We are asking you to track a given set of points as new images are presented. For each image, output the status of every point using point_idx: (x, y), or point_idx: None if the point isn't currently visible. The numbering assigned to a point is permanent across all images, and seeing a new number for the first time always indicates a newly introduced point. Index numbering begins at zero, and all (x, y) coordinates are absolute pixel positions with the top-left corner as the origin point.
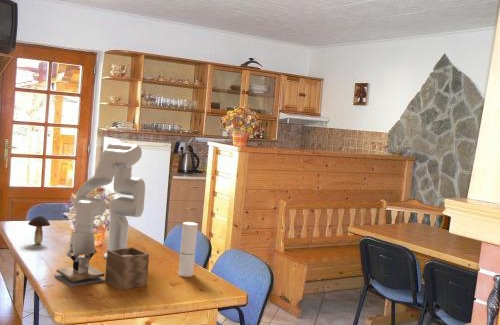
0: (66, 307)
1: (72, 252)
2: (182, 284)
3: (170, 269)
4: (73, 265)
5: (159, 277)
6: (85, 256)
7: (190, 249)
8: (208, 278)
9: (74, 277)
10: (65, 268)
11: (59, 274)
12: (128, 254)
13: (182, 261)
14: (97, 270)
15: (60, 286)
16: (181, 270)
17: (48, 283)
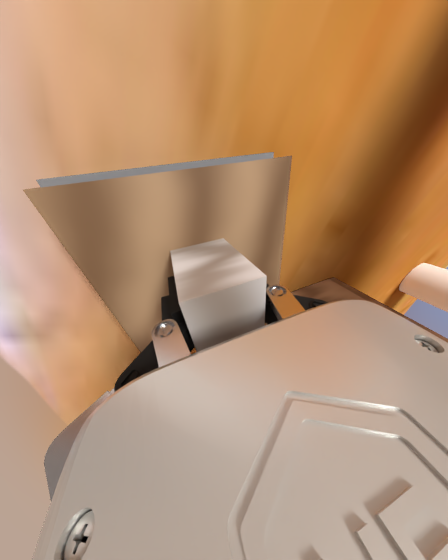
0: None
1: (150, 377)
2: None
3: (435, 235)
4: (163, 309)
5: (370, 288)
6: (272, 309)
7: None
8: (406, 302)
9: None
10: (116, 197)
11: (81, 179)
12: None
13: (446, 305)
14: (275, 277)
15: (100, 338)
16: (415, 291)
17: (25, 305)
